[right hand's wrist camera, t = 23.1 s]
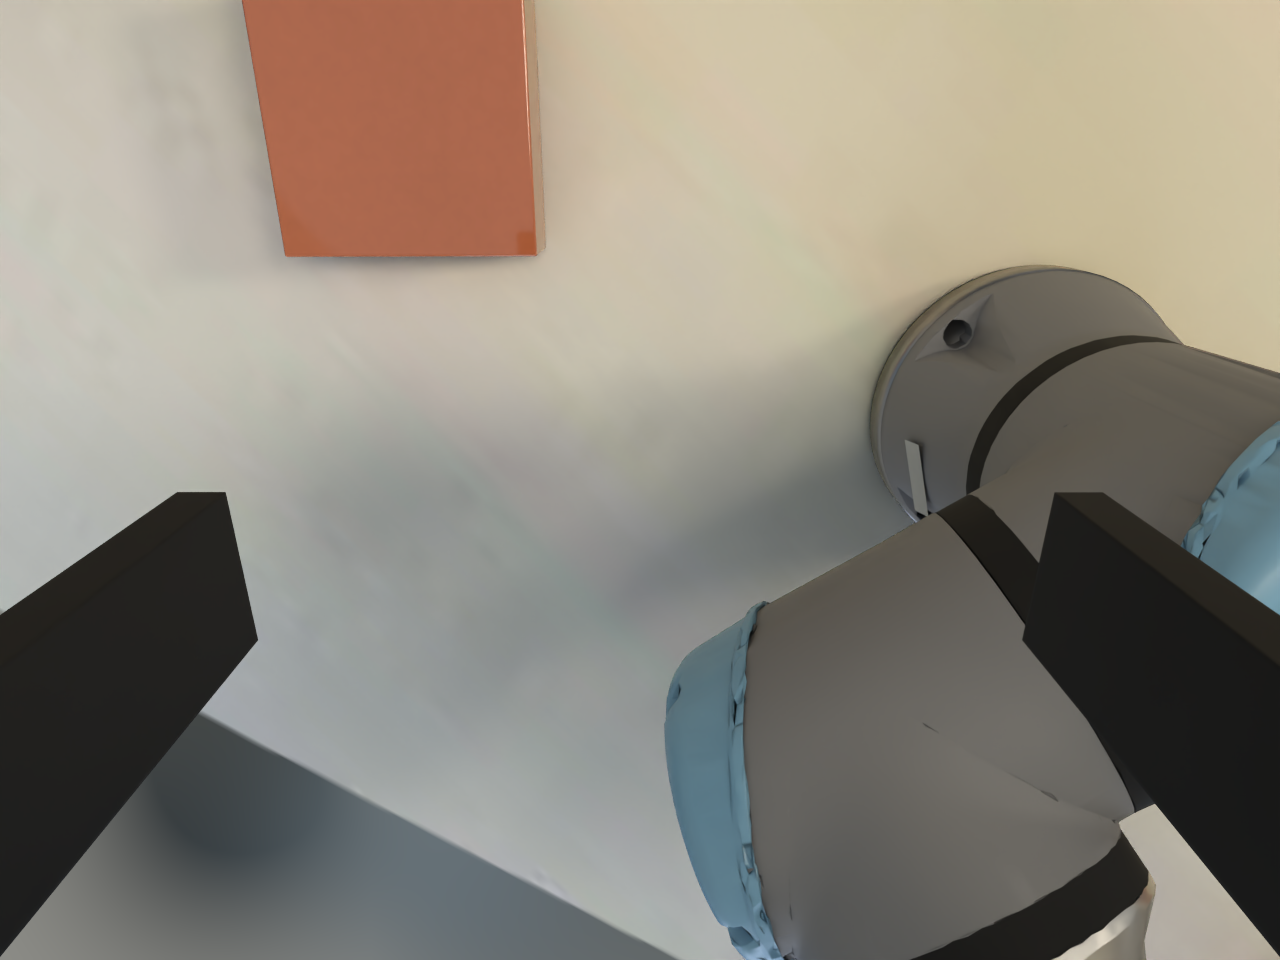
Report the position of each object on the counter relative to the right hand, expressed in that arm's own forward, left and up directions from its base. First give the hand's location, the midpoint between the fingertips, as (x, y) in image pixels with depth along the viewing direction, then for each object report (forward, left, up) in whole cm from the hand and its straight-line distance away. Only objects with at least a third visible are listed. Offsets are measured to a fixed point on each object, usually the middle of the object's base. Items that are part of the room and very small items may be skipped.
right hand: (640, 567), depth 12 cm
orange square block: (+10, -8, -29) cm, 31 cm away
